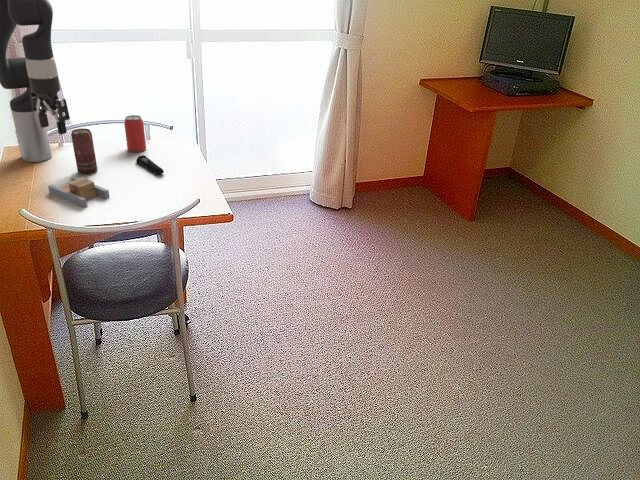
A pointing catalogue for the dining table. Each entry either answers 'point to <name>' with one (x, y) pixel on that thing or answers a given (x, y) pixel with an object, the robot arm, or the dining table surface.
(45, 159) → the robot arm
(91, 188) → the block
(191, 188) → the dining table surface
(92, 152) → the can
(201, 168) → the dining table surface
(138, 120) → the beer can
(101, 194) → the channel
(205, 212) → the dining table surface
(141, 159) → the electric trimmer
